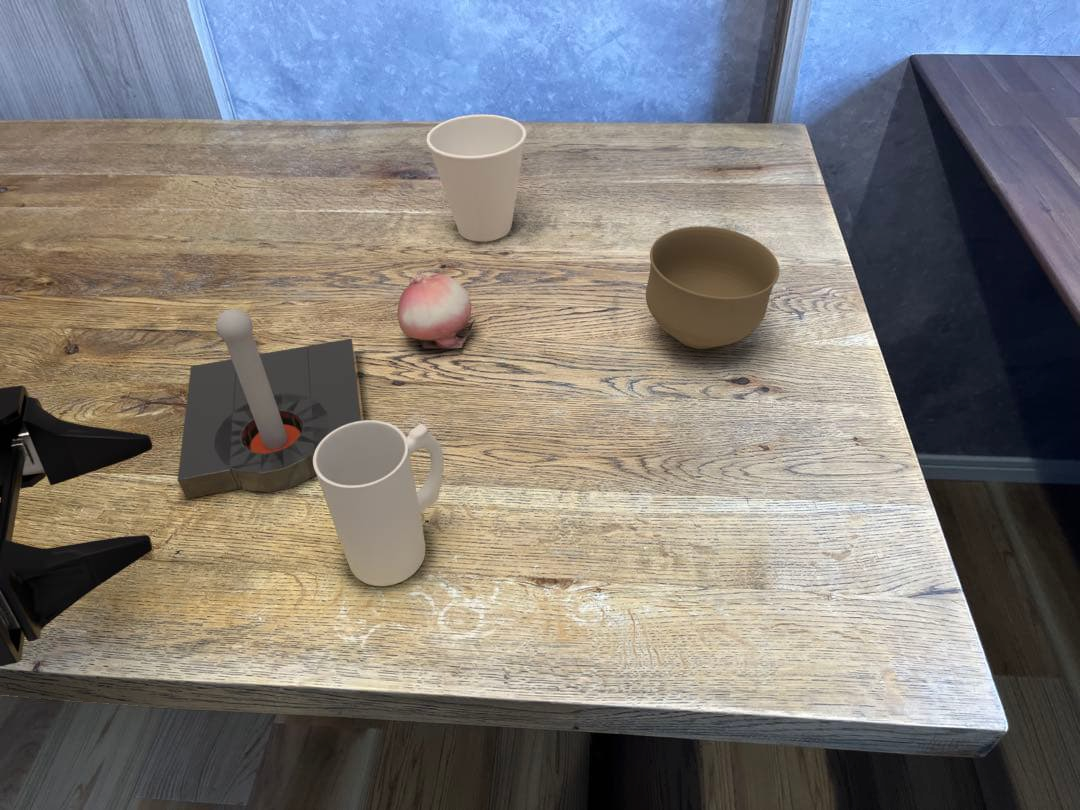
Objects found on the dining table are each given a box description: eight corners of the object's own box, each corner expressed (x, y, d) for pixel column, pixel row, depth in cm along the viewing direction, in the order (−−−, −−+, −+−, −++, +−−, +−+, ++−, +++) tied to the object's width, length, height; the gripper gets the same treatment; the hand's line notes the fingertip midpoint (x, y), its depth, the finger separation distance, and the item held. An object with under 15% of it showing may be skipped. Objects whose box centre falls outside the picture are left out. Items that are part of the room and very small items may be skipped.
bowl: (763, 383, 80) (780, 299, 74) (635, 367, 83) (639, 284, 76) (767, 309, 89) (782, 228, 83) (651, 296, 92) (657, 217, 85)
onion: (457, 307, 92) (451, 251, 87) (488, 343, 87) (483, 286, 82) (391, 329, 89) (380, 274, 84) (419, 368, 84) (409, 311, 79)
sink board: (185, 509, 71) (176, 489, 69) (198, 384, 83) (190, 365, 82) (370, 472, 73) (365, 453, 72) (356, 357, 86) (351, 338, 84)
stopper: (253, 472, 74) (197, 333, 63) (254, 438, 77) (201, 300, 66) (304, 463, 74) (258, 323, 64) (303, 429, 78) (259, 291, 67)
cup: (535, 205, 108) (531, 114, 100) (525, 253, 99) (520, 157, 91) (447, 204, 109) (436, 113, 101) (430, 251, 101) (416, 156, 92)
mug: (376, 605, 63) (346, 503, 55) (329, 555, 67) (294, 452, 59) (476, 533, 68) (462, 429, 60) (428, 490, 72) (408, 386, 63)
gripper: (-273, 575, 36) (116, 507, 41) (-160, 335, 49) (124, 305, 54) (-157, 707, 43) (162, 636, 48) (-85, 467, 56) (160, 430, 61)
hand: (151, 489), depth 53 cm, fingers open, 9 cm apart
